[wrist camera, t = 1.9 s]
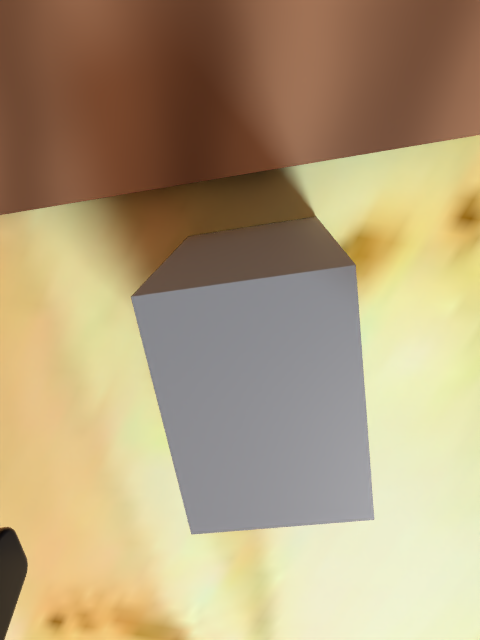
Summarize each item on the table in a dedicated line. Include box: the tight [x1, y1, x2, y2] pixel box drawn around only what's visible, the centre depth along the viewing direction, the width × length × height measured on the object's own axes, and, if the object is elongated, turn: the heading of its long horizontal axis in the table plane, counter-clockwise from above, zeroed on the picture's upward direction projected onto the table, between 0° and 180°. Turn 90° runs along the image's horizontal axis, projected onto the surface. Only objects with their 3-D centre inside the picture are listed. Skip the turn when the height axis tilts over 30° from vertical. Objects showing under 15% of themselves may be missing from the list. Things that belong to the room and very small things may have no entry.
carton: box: [131, 217, 374, 534], centre depth 15 cm, size 5×7×8 cm
